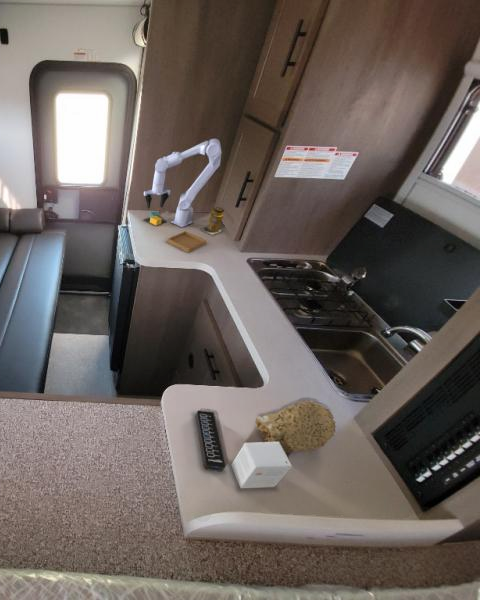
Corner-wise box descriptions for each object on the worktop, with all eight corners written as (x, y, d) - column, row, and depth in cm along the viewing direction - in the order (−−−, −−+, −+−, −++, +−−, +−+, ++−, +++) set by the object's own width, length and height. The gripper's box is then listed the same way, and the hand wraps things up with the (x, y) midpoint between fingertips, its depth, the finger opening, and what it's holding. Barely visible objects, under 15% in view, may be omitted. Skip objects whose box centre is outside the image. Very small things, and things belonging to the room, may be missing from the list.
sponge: (271, 464, 80) (356, 451, 78) (273, 443, 76) (362, 428, 75) (245, 421, 91) (319, 409, 90) (246, 401, 88) (322, 388, 86)
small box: (262, 463, 79) (279, 440, 72) (274, 488, 74) (293, 466, 68) (230, 464, 78) (244, 441, 72) (239, 489, 74) (255, 467, 67)
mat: (154, 216, 190) (154, 215, 190) (166, 221, 184) (166, 221, 184) (143, 220, 185) (143, 219, 185) (155, 226, 180) (155, 225, 180)
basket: (184, 234, 172) (185, 231, 171) (205, 243, 164) (206, 240, 163) (166, 242, 165) (167, 238, 164) (188, 252, 157) (189, 249, 156)
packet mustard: (154, 220, 184) (155, 215, 183) (161, 223, 181) (162, 218, 179) (149, 222, 183) (150, 217, 181) (156, 225, 179) (156, 220, 178)
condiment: (222, 230, 176) (228, 209, 168) (212, 235, 172) (218, 213, 165) (210, 226, 181) (216, 205, 173) (201, 230, 177) (206, 208, 169)
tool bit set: (211, 416, 88) (214, 412, 87) (223, 471, 77) (226, 467, 76) (195, 415, 89) (197, 410, 87) (203, 469, 77) (206, 464, 76)
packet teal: (155, 216, 189) (156, 211, 187) (159, 220, 185) (159, 215, 183) (149, 216, 188) (150, 212, 186) (152, 220, 184) (153, 215, 183)
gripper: (148, 186, 170) (145, 211, 178) (174, 184, 172) (169, 209, 180) (143, 181, 175) (140, 206, 183) (168, 180, 177) (164, 204, 186)
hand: (154, 207), depth 182 cm, fingers open, 7 cm apart
